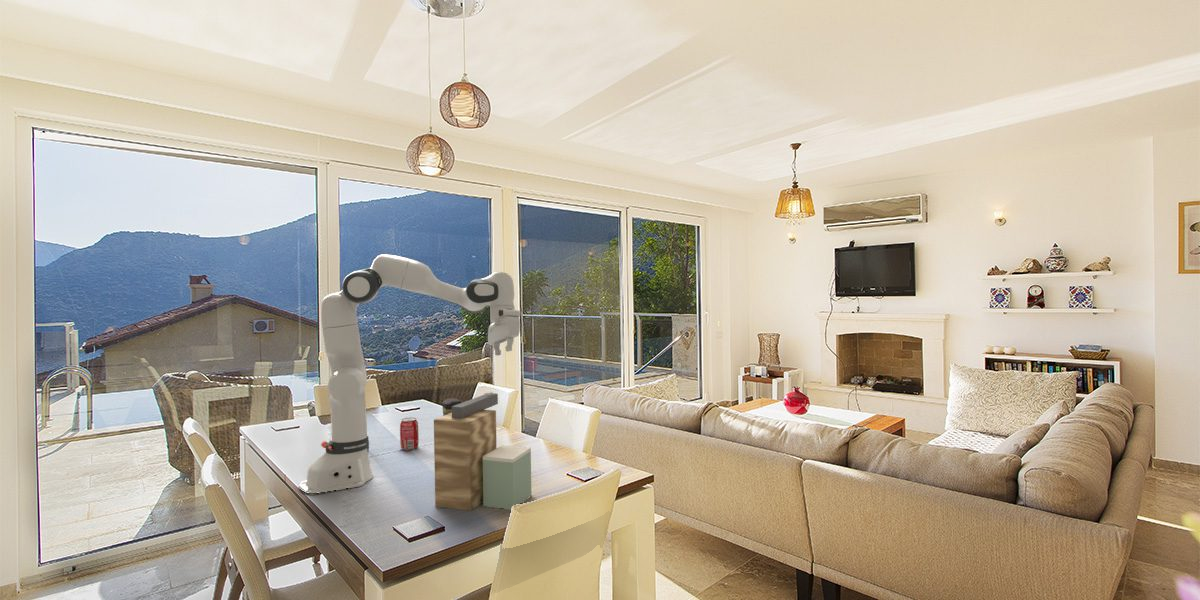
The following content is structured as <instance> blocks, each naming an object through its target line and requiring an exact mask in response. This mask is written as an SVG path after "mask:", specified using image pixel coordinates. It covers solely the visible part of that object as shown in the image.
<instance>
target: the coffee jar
mask: <svg viewBox="0 0 1200 600" xmlns="http://www.w3.org/2000/svg"><path fill="white" fill-rule="evenodd" d="M463 402H464V401H462V400H460V399H457V398H455V397H451V398H450V397H449V398H446V399H445V400H443V401H442V416H444V415H447V414H450V413H452V406H455V405H457V404H460V403H463Z"/></svg>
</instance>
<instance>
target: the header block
mask: <svg viewBox="0 0 1200 600" xmlns="http://www.w3.org/2000/svg"><path fill="white" fill-rule="evenodd" d="M531 450H532V449H531V447H525V446H513V445H499V446H498V447H497V448H496V449H495V450H493V451H491V452H489V453H488V454H486V455H484V456H483V502H482V503H483V504H482V505H483V507H485V506H487V508H493V507H494V508H493V509H500V508H504V509H503V510H508V511H512V510H511V507H512V506H513V505H516V504H520V503H522V504H523V503H524V502H525V501H527V500H528V499H529V498H530V497H531V496H532V454H531V453H532V451H531ZM529 496H530V497H529ZM528 497H529V498H528ZM527 498H528V499H527ZM524 500H525V501H524Z"/></svg>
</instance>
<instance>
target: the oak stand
mask: <svg viewBox="0 0 1200 600" xmlns="http://www.w3.org/2000/svg"><path fill="white" fill-rule="evenodd" d="M496 448H498V447H497V410H492V409H485V410H482V411H480V412H477V413H475V414H473V415H470V416H468V417H465V418H463V419H455V418H452V413H450V414H447V415H444V416H443V415H442V416H439V417H436V418H435V419H433V455H434V496H435V497H434V504H435V507H441V508H448V509H456V510H464V511H472V510H474V509H475V508H476V507H477V505H478V506H479V505H480V504H482V503H483V456H484V455H486V454H488V453H489V452H491V451H493V450H495V449H496ZM481 502H482V503H481Z"/></svg>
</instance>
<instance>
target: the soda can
mask: <svg viewBox="0 0 1200 600" xmlns="http://www.w3.org/2000/svg"><path fill="white" fill-rule="evenodd" d="M399 434H400V435H399V440H400V441H399V442H400V448H401V449H402V450H403V449H404V450H403V451H412V449H413V450H415V448H416V449H417V448H418V447H419V440H420V439H419V422H418V421H417V417H405V418H402V419H401V422H400V423H399Z"/></svg>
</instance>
